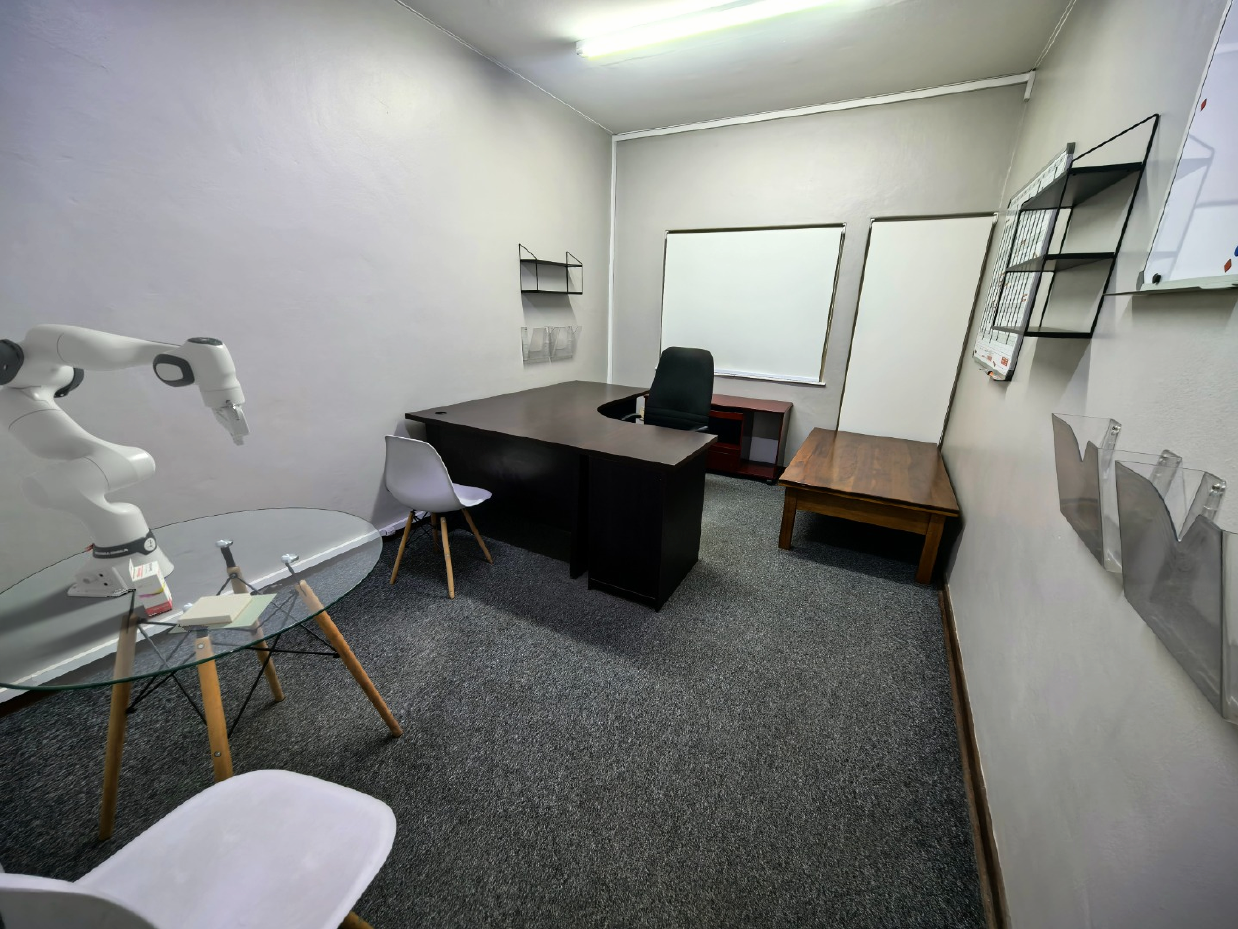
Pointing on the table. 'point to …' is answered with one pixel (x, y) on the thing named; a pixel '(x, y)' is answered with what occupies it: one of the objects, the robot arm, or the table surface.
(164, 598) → the ink cartridge box
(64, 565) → the table surface
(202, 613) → the cream layered slab
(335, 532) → the table surface
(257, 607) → the felt pad
